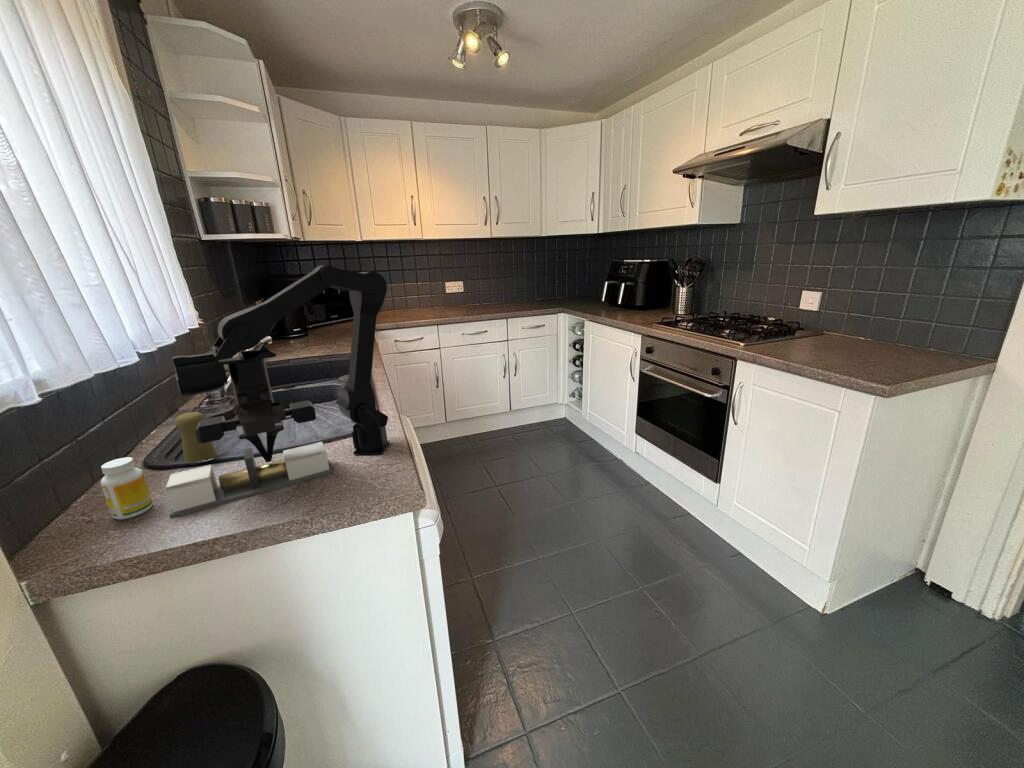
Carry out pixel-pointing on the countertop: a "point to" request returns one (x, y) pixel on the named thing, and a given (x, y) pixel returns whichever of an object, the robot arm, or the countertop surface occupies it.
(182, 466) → the countertop surface
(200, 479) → the socket
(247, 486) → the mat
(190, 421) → the cork
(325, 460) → the sleeve
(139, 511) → the supplement bottle
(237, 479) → the bolt
